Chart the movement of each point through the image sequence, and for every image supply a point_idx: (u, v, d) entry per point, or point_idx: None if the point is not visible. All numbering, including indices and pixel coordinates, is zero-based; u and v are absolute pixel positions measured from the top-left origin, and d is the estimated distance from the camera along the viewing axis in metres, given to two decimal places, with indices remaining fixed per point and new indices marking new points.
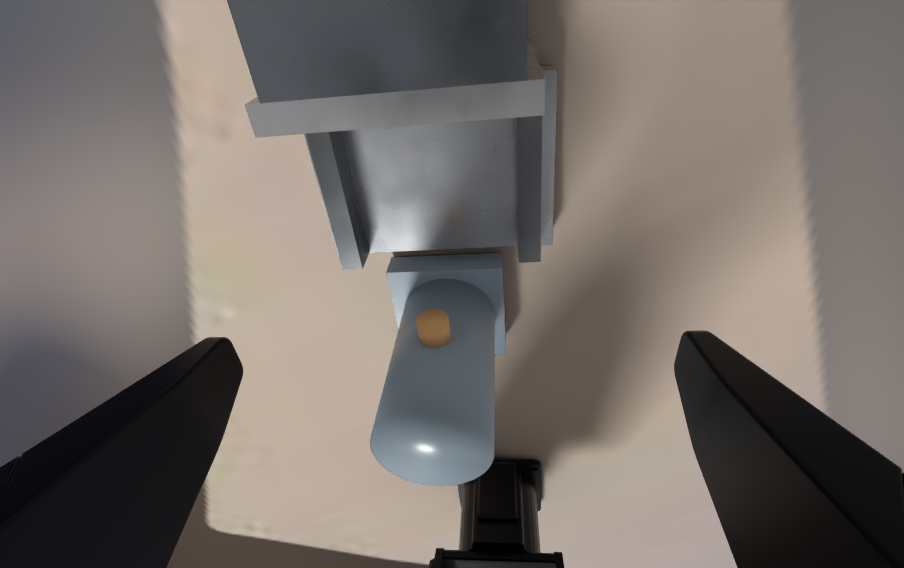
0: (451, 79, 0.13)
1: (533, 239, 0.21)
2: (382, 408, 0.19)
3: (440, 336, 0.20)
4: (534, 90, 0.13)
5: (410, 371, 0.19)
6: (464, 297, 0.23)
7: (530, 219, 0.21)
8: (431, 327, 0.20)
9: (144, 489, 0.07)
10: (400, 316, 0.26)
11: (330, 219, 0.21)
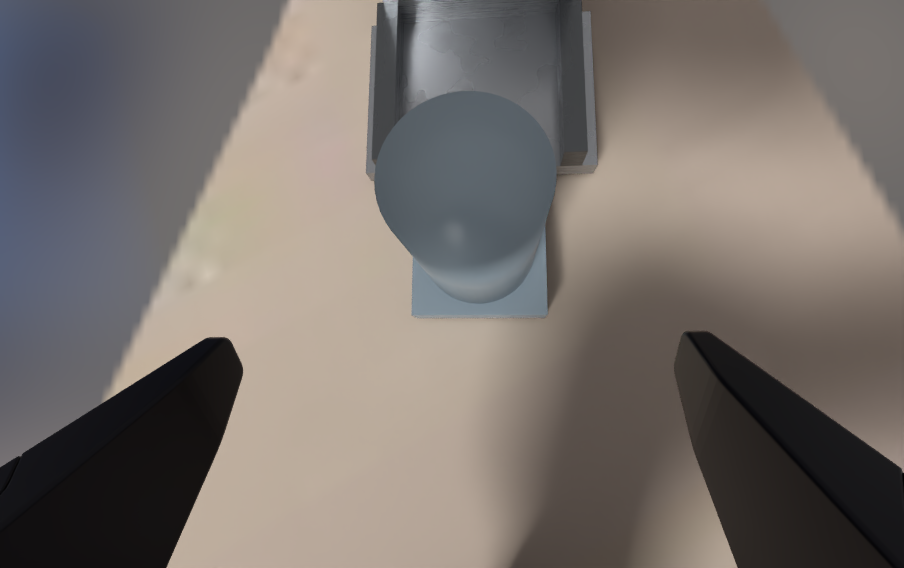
0: None
1: (579, 125, 0.20)
2: None
3: None
4: None
5: None
6: None
7: (575, 104, 0.21)
8: None
9: (144, 489, 0.07)
10: None
11: (375, 103, 0.22)
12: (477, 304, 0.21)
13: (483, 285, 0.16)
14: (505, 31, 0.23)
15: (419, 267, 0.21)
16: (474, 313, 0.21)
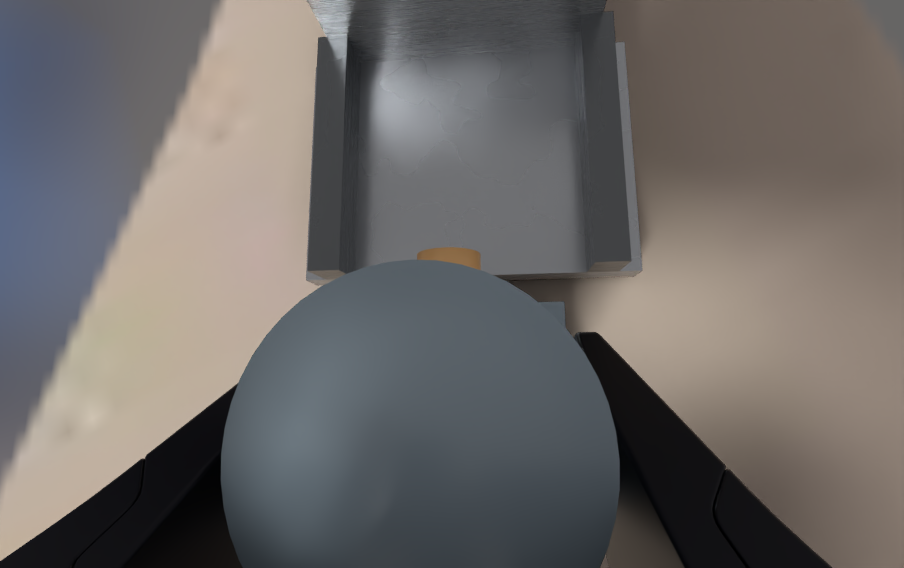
0: None
1: (617, 220, 0.13)
2: None
3: None
4: None
5: None
6: None
7: (609, 187, 0.14)
8: None
9: None
10: None
11: (313, 185, 0.15)
12: None
13: None
14: (502, 73, 0.16)
15: None
16: None
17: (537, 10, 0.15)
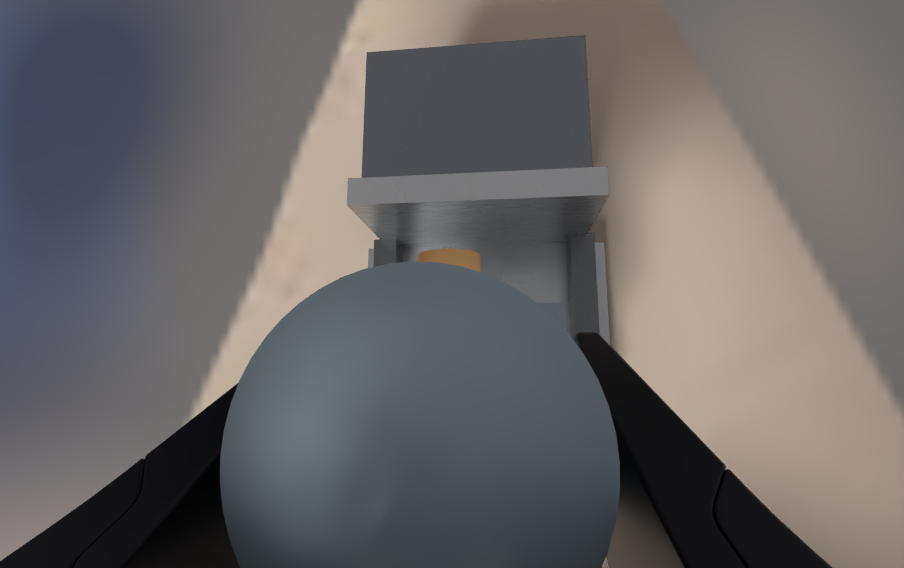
0: (528, 164, 0.16)
1: None
2: None
3: None
4: (599, 174, 0.16)
5: None
6: None
7: None
8: None
9: None
10: None
11: None
12: None
13: None
14: (511, 262, 0.22)
15: None
16: None
17: (538, 232, 0.20)
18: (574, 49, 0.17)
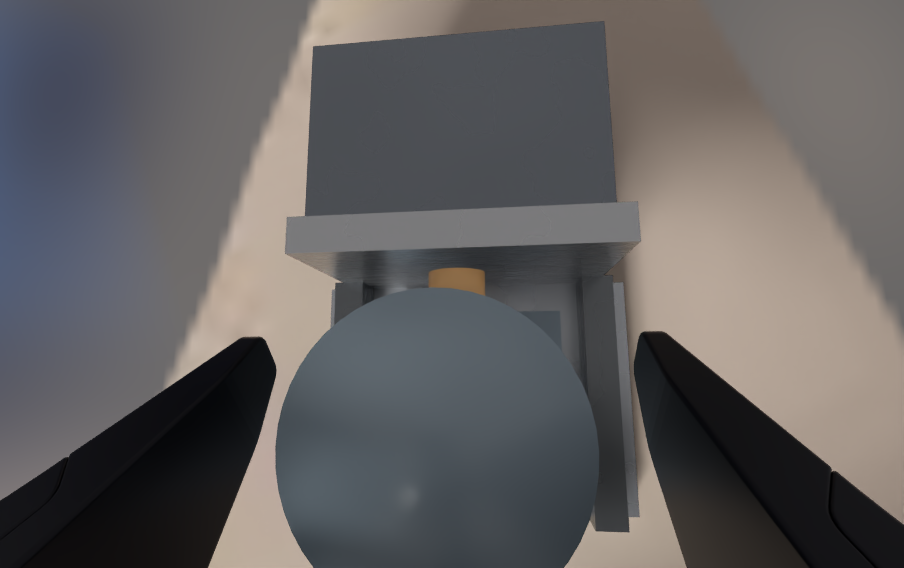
0: (528, 198, 0.12)
1: (616, 490, 0.15)
2: None
3: (469, 287, 0.11)
4: (626, 213, 0.11)
5: None
6: None
7: (609, 455, 0.15)
8: None
9: (187, 490, 0.07)
10: None
11: None
12: None
13: None
14: None
15: None
16: None
17: (541, 274, 0.16)
18: (589, 40, 0.12)
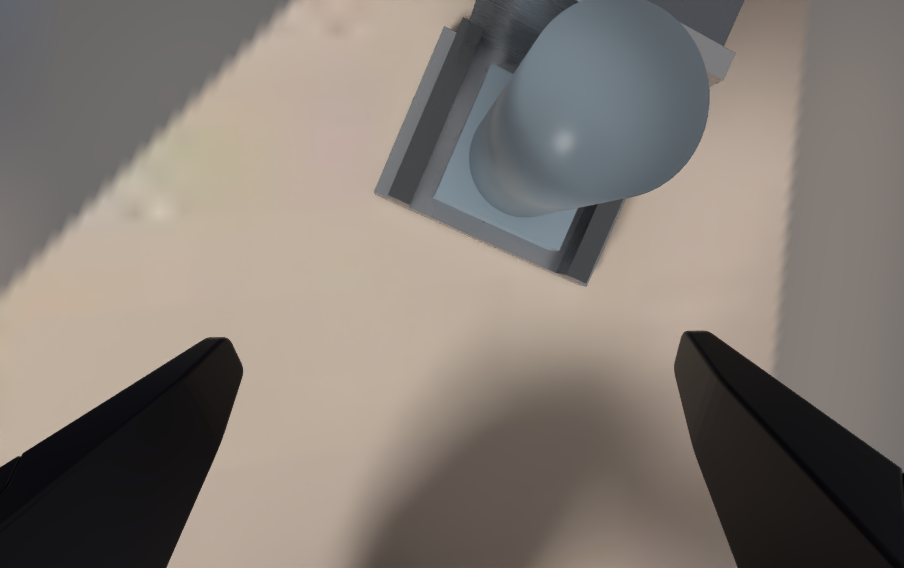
0: (673, 11, 0.16)
1: (591, 256, 0.21)
2: None
3: None
4: (724, 56, 0.16)
5: None
6: None
7: (597, 233, 0.21)
8: None
9: (144, 489, 0.07)
10: (469, 130, 0.20)
11: (414, 135, 0.20)
12: (501, 212, 0.20)
13: (545, 206, 0.16)
14: None
15: (462, 150, 0.20)
16: (495, 220, 0.20)
17: None
18: None
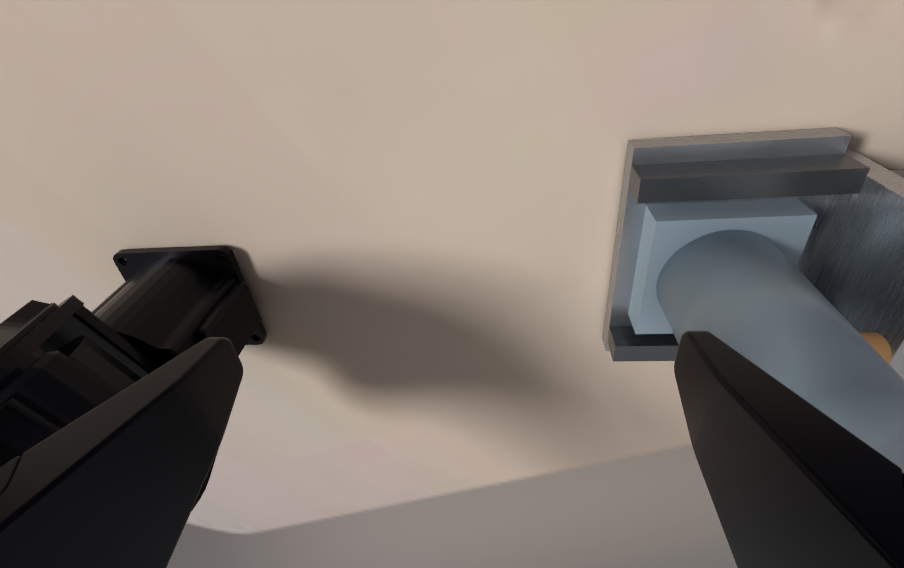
0: None
1: (639, 356, 0.23)
2: None
3: None
4: None
5: None
6: None
7: (661, 354, 0.23)
8: None
9: (144, 489, 0.07)
10: (735, 224, 0.19)
11: (716, 177, 0.18)
12: (656, 281, 0.20)
13: None
14: None
15: (711, 225, 0.19)
16: (647, 278, 0.20)
17: None
18: None
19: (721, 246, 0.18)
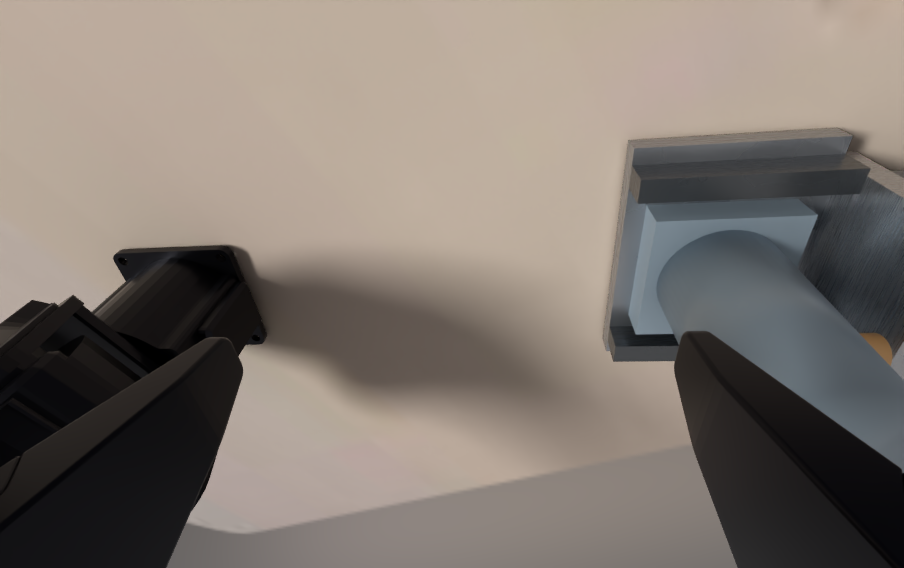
0: None
1: (639, 356, 0.23)
2: None
3: None
4: None
5: None
6: None
7: (661, 354, 0.23)
8: None
9: (144, 489, 0.07)
10: (735, 224, 0.19)
11: (717, 177, 0.18)
12: (656, 281, 0.20)
13: None
14: None
15: (711, 226, 0.19)
16: (647, 279, 0.20)
17: None
18: None
19: (721, 246, 0.18)
